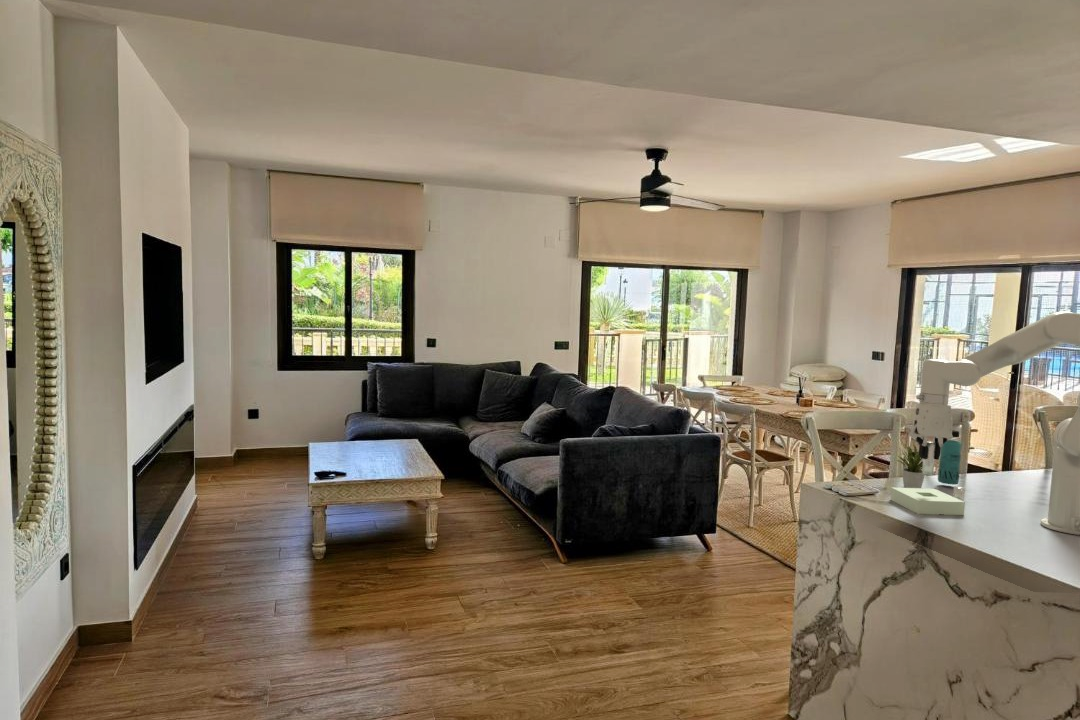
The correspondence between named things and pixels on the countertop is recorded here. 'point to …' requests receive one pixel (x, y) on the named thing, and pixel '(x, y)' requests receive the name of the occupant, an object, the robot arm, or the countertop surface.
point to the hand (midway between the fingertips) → (929, 457)
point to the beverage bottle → (950, 461)
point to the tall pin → (929, 459)
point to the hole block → (927, 501)
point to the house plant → (912, 469)
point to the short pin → (959, 493)
